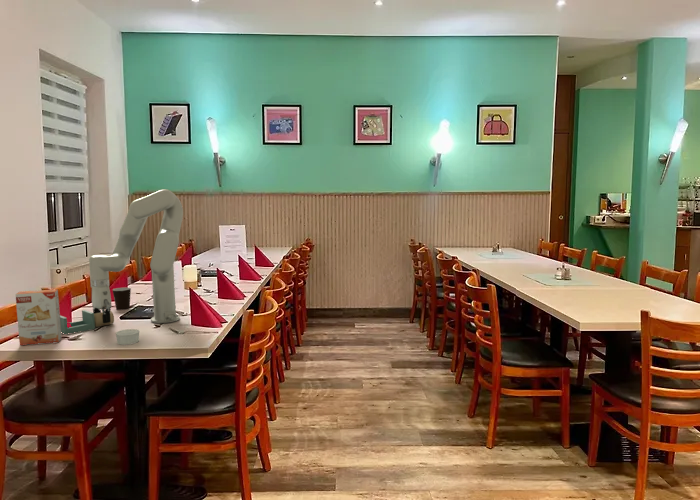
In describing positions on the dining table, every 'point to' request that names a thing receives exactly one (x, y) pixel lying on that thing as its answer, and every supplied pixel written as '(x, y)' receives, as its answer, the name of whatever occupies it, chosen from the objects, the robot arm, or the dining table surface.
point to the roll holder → (78, 323)
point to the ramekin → (127, 336)
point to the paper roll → (99, 319)
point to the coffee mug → (122, 298)
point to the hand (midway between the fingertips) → (102, 320)
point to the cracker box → (38, 316)
